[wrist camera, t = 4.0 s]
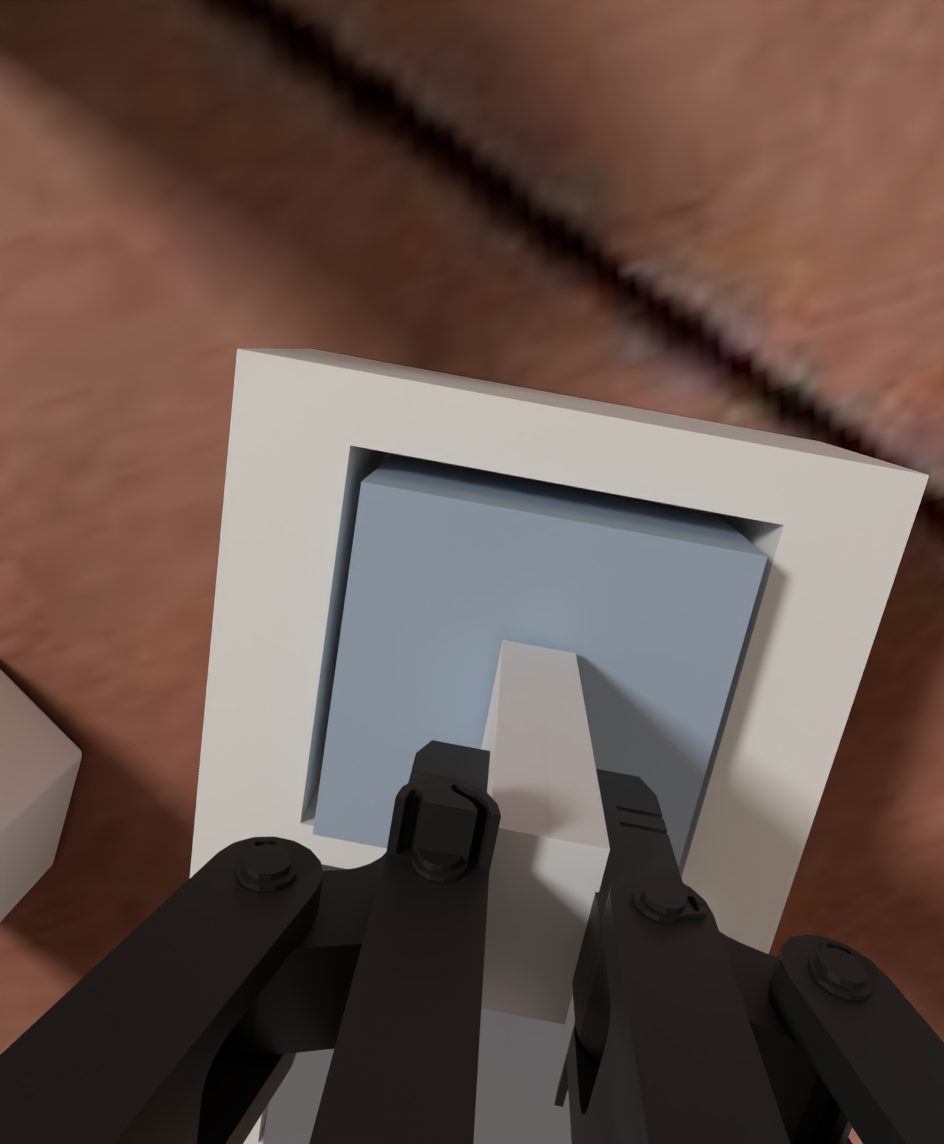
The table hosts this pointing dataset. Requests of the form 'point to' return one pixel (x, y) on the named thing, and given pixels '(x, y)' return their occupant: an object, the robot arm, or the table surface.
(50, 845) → the jar
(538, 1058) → the charcoal key
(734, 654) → the slate key
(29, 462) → the table surface
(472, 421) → the board
